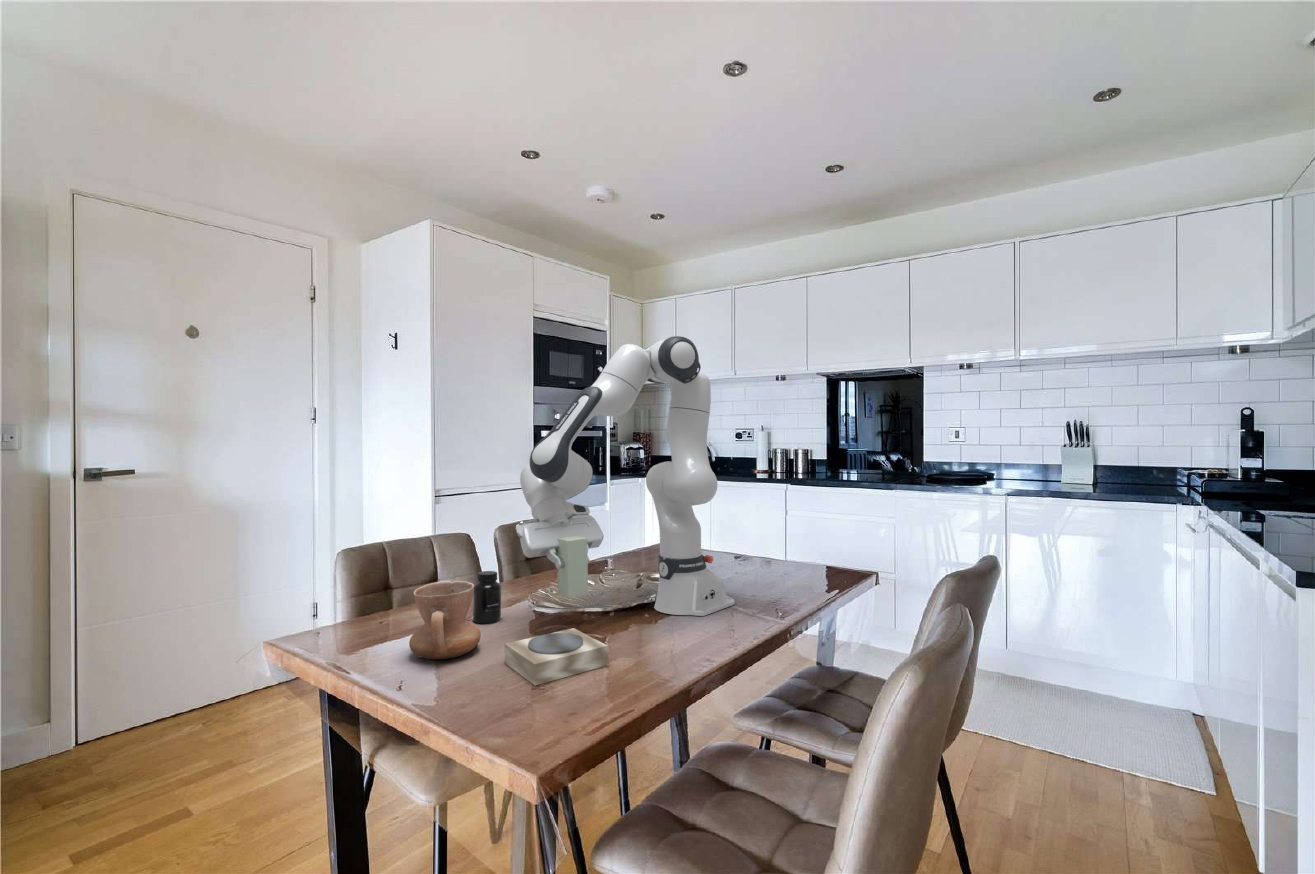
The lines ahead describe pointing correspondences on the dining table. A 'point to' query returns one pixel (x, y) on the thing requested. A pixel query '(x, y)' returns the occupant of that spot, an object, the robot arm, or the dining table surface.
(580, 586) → the sage block
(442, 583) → the ceramic jug
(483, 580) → the supplement bottle
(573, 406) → the robot arm
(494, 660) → the dining table surface
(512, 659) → the birch base
